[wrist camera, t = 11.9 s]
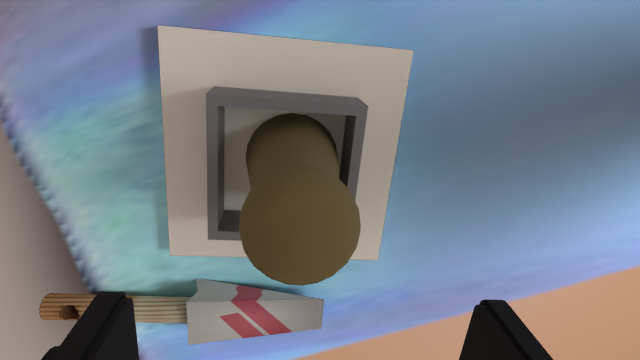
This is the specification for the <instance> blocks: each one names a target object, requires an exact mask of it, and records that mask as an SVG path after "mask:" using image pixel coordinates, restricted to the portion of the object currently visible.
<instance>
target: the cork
mask: <svg viewBox="0 0 640 360" xmlns="http://www.w3.org/2000/svg"><path fill="white" fill-rule="evenodd" d="M246 164H247V170H248V176H249V181H250V187H251V190H250V192H249V194H248V196H247V198H246V200H245V202H244V204H243V206H242V209H241V214H240V223H239V233H240V237H241V241H242V245H243V249H244V252H245V254H246V255H247V257H248V258H249V260H250V261H251V263H252V264H253V265H254V267H256V268H257V269H258V270H260V271H261V272H262V273H264V274H265V275H266V276H267V277H269V278H271V279H274V280H276V281H279V282H282V283H284V284H291V285H307V284H313V283H318V282H320V281H322V280H325V279H327V278H329V277H331V276H333V275H334V274H335V273H336V272H337V271H339V270H340V269H341V268H342V267H343V266H344V265H345V264H346V263H347V262H348V261H349V259H350V258H351V256H352V254H353V253H354V251H355V250H356V248H357V244H358V240H359V236H360V230H361V223H360V214H359V208H358V206H357V204H356V202H355V200H354V198H353V196H352V194H351V192H350V190H349V188H348V187H347V186H345V185H344V184H343V183H342V182H341V181H340V180H339V169H338V156H337V148H336V143H335V141H334V139H333V137H332V135H331V133H330V132H329V131H328V130H327V129H326V128H325V127H324V126H323V125H322V124H321V123H320V122H319V121H317V120H315V119H313V118H311V117H309V116H307V115H302V114H296V113H288V114H282V115H277V116H275V117H273V118H271V119H269V120H267V121H265V122H263V123H262V124H261V125H260V126H259V127H258V128H257V129H256V130H255V131H254V132H253V134H252V137H251V139H250V141H249V143H248V145H247V152H246Z"/></svg>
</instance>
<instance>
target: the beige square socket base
mask: <svg viewBox="0 0 640 360" xmlns="http://www.w3.org/2000/svg"><path fill="white" fill-rule="evenodd" d="M158 43H159V62H160V80H161V99H162V118H163V136H164V155H165V173H166V192H167V211H168V229H169V248H170V256H215V257H247V255H246V254H245V252H244V249H243V245H242V241H241V237H240V233H239V223H240V214H241V209H242V206H243V204H244V202H245V200H246V198H247V196H248V194H249V192H250V190H251V187H250V181H249V176H248V170H247V164H246V152H247V145H248V143H249V141H250V139H251V137H252V134H253V132H254V131H255V130H256V129H257V128H258V127H259V126H260V125H261V124H262V123H263V122H265V121H267V120H269V119H271V118H273V117H275V116H277V115H282V114H288V113H296V114H302V115H307V116H309V117H311V118H313V119H315V120H317V121H319V122H320V123H321V124H322V125H323V126H324V127H325V128H326V129H327V130H328V131H329V132H330V133H331V135H332V137H333V139H334V141H335V143H336V148H337V156H338V169H339V180H340V181H341V182H342V183H343V184H344V185H345V186H347V187H348V188H349V190H350V192H351V194H352V196H353V198H354V200H355V202H356V204H357V206H358V208H359V214H360V223H361V230H360V236H359V240H358V244H357V248H356V250H355V251H354V253H353V254H352V256H351V258H350V259H351V260H378V256H379V250H380V244H381V238H382V232H383V227H384V221H385V215H386V209H387V203H388V197H389V191H390V186H391V180H392V174H393V168H394V162H395V156H396V151H397V145H398V139H399V133H400V127H401V121H402V116H403V110H404V104H405V98H406V92H407V86H408V80H409V75H410V69H411V63H412V57H413V51H414V50H407V49H396V48H386V47H376V46H366V45H356V44H345V43H335V42H325V41H315V40H304V39H294V38H284V37H274V36H264V35H253V34H243V33H233V32H223V31H212V30H202V29H192V28H182V27H172V26H160V25H158Z"/></svg>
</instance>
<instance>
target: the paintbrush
mask: <svg viewBox="0 0 640 360" xmlns="http://www.w3.org/2000/svg"><path fill="white" fill-rule="evenodd" d="M95 296H96V295H95V294H61V293H49V294H47V295H46V296H45V297H44V299H42V303H41V304H40V308H39V311H40V312H39V314H40V317H41V318H42V319H43V320H77V321H78V320H79V318H80V317H81V316H82V314H83V313H84V311H85V310H86V309H87V307H88V306H89V304H90V303H91V302H92V300H93V299H94V297H95ZM126 298H132V300H133V305H134V315H135V322H155V323H187V324H188V344H189V345H191V344H200V343H208V342H216V341H224V340H232V339H240V338H248V337H256V336H264V335H273V334H281V333H289V332H297V331H305V330H313V329H321V323H322V313H323V304H324V299H318V298H312V297H307V296H301V295H295V294H289V293H283V292H277V291H271V290H265V289H259V288H253V287H247V286H241V285H236V284H230V283H224V282H218V281H212V280H206V279H196V294H195V295H194V296H192V297H160V296H130V295H126ZM75 306H76V307H75Z"/></svg>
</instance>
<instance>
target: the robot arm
mask: <svg viewBox="0 0 640 360" xmlns="http://www.w3.org/2000/svg"><path fill="white" fill-rule="evenodd" d="M41 360H139V355H138V345H137V335H136V325H135V315H134V305H133V300H132V298H126V294H125V292H108V291H101V292H99V293H98V294H97V295H96V296H95V297H94V299H93V300H92V302H91V303H90V304H89V306H88V307H87V309H86V310H85V311H84V313H83V314H82V316H81V317H80V318H79V320H78V321H77V323H76V324H75V326H74V327H73V328H72V330H71V331H70V333H69V334H68V335H67V337H66V338H65V340H64V341H63V342H62V344H61V345H60V346H55V347H53V348H51V349H50V350H49V351H48V352H47V353H46V354H45V355H44V357H43V358H42V359H41ZM459 360H553V359H552V358H551V356H550V355H549V354H548V353H547V351H546V350H545V349H544V348H543V347H542V345H541V344H540V343H539V342H538V340H537V339H536V338H535V337H534V336H533V334H532V333H531V332H530V331H529V329H528V328H527V327H526V326H525V324H524V323H523V322H522V321H521V319H520V318H519V317H518V316H517V315H516V313H515V312H514V311H513V310H512V308H511V307H510V306H509V305H508V303H506V302H505V301H503V300H482V301H481V302H480V304H479V305H476V306H475V308H474V311H473V314H472V317H471V321H470V324H469V328H468V331H467V334H466V338H465V341H464V345H463V348H462V352H461V355H460V358H459Z"/></svg>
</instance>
